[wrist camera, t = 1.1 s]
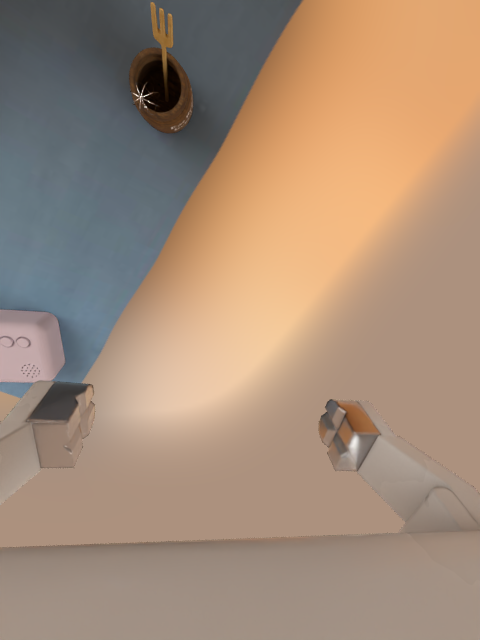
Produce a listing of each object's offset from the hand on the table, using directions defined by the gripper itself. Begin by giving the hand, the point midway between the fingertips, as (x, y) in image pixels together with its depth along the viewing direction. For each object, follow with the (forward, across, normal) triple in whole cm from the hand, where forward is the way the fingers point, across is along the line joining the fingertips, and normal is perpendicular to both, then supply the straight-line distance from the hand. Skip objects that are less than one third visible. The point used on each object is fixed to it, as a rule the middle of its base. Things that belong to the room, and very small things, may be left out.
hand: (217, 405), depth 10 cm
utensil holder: (+32, +6, -14) cm, 36 cm away
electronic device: (+30, +25, +25) cm, 46 cm away
